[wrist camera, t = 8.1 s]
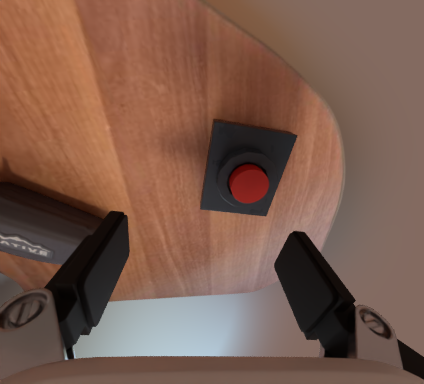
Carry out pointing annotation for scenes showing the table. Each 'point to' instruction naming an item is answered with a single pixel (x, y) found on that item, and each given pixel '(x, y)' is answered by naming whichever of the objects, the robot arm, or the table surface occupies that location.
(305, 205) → the table surface
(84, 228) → the glasses case
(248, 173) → the button
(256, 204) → the switch block
